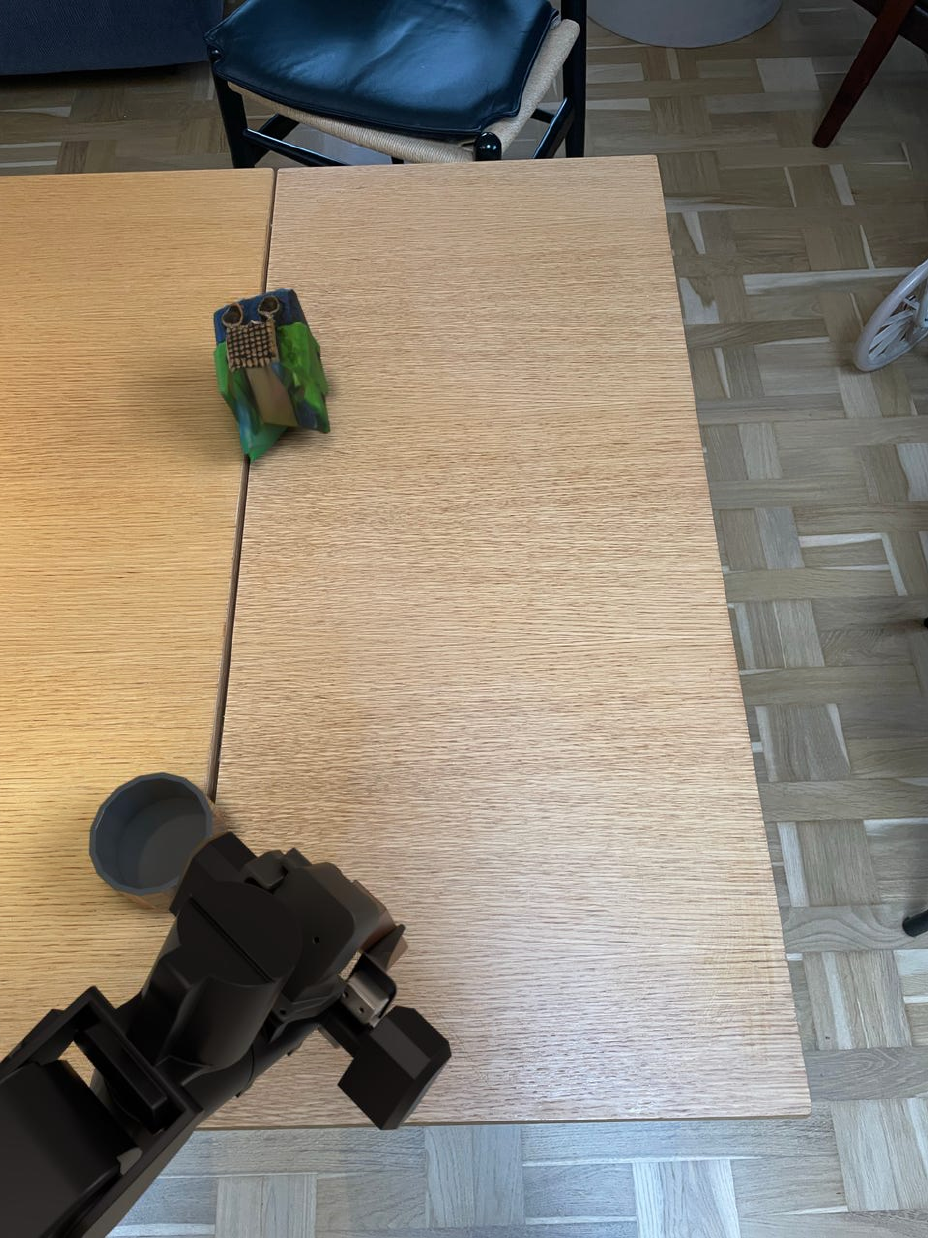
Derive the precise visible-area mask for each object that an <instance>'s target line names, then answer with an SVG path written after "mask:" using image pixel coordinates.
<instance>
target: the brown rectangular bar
mask: <svg viewBox="0 0 928 1238" xmlns="http://www.w3.org/2000/svg"><path fill="white" fill-rule="evenodd" d="M351 882H352V883H353V884H354V885H355V886H356V887H357V888H358V889H359V890H360V891H362V892H363V893H364V894H365V895H367V896H369V897H370V898H371V899H372V900H373V901H374V902H375V903H376V905H377V907H378V909H379V914H380V917H379V922H378V925H377V927H376V928H375V930H374V931H373V932H372V933H371V934H370V935H369V937H368V938H367V939H366V940H365V942H364V943H363V944H362V946H361V947H360V949H359V950H358V951H357V953H359V954H360V955H361V954H362V953H363V952H365V953H366V954H368V952H369V951H370V950H371V949H372V948H373V947H374V946H375V945H376V944H377V943H378V942H379V941H380V940H381V939H382V938H383V937H384V936H385V935H386V934H387V933H389V932H390V931H391V930H393V929H395V928H396V927H397V926H398V925H397V923H396V922H395V920H394V919H393V916H392V915H391V913H390V911H389V909H388V908H387V907H386V906H385V905H384V904H383V903H382V902H381V901H380V900H379V899H378V898H377V897H376V896H375V895H374V894H373V893H372V892H371V891H369V890H368V889H367V888H366V886H364V885H363V884H362V883H361V882H359V881H358V879H354V880H353V881H351ZM409 947H410V946H409V944H408V943H407V941H406V940H405V937H404V935H402V937H401V939H400V941H399V943H398V945H397V947H396V948H395V950H394V952H393V954H392V956H391V959H390V961H389V964H388V968H387V972H386V973H387V974H388V972H389V971H390V970H391V968H392V967H393V966H394V965H395V964H396V963H397V961H398V960H399V959H400V958H401V957H402V956H403V954H404V953H405V952H406V951H407V950H408V949H409Z"/></svg>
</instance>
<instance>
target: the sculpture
mask: <svg viewBox="0 0 928 1238" xmlns="http://www.w3.org/2000/svg"><path fill="white" fill-rule="evenodd" d="M212 315H213V320H212V321H213V329H214V337H215V349H214V350H213V359H214V368H215V375H216V380H217V389H218V393H219V394H220V396H222V398H223V400H224V401H225V402H226V404H227V406H228V407H229V409H230V411H231V412H232V415H233V417H234V419H235V421H236V427H237V429H238V434H239V435H238V436H239V442H240V446H241V450H242V452H243V453H244V455H245V456H246V455H247V456H248V457H249V459H250V461H251V464H253V463H254V462H255V460H257V459H258V458H259V457H260V456H261V455H263V454H264V453H265V452H267V451H268V450H269V449H270V448H271V447H272V446H274V444H275V443H276V442H277V440H279V438H281V436H282V435H283V433H284V432H285V431H286V430H287V429H288V427H292V428H296V429H302V430H303V429H304V430H309V431H315V432H319V433H322V434H324V435H327V434H329V433H330V432H331V422H330V419H329V410H328V407H327V402H326V401H327V400H326V396H327V393H329V386H328V382H327V378H326V375H325V370H324V365H323V363H322V359H321V345H320V344H319V342H318V340H317V339H316V338H315V337H314V334H313V333H312V330H311V328H310V325H309V323H308V320H307V318H306V314H305V313H304V310H303V308H302V306H301V303H300V300H299V298H298V294H297V293H296V291H295V290H294V289H293V288H289V289H286V288H283V287H281V288H278V289H276V290H271V291H268V292H264V293H261V294H259V295H255V296H252V297H250V298H245V297H243V298H242V299H240V300H238V301H233V302H232V303H230V304H226V305H224V306H223V307H221V308H219V309H217V310H215V312H213V314H212Z"/></svg>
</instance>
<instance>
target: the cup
mask: <svg viewBox="0 0 928 1238" xmlns="http://www.w3.org/2000/svg"><path fill="white" fill-rule="evenodd" d="M226 831H230V830H229V826H228V824H227V821H226V819H225V817H224V816H223V814H222V813H221V810H220V809H219V807H218V806H217V805H216V804H215V803H214V802H213V801H212V799H210V798H209V796H207V794H206V793H205V792H204V791H203V790H202V789H200V787H198V786H197V785H196V784H195V783H193V782H191V780H190V779H188V778H187V777H186V776H181V775H177V774H175V773H169V772H165V771H161V772H153V773H147V774H140V775H138V776H136V777H134V778H132V779H130V780H129V781H126V782H124V783H123V784H121V785H119V786H118V787H116V788H115V789H114V790H113V791H112V792H111V794H109V796H107V798H105V800H104V801H103V802H102V803H101V804H100V805H99V807H98V810H97V812H96V813H95V817H94V818H93V821H92V823H91V826H90V828H89V839H88V841H89V842H88V855H89V858H90V860H91V862H92V865H93V867H94V870H95V872H96V875H97V876H98V877H99V878H100V879H101V880H103V882H105V883H106V884H107V885H108V886H109V887H110V888H112V889H113V890H114V891H116V892H118V893H119V894H120V895H123V896H124V897H126V898H127V899H129V900H131V901H133V902H134V903H136V904H138V905H141V906H143V907H147V908H149V909H150V908H151V909H155V910H169V905H170V899H171V896H172V894H173V891H174V889H175V887H176V885H177V883H178V881H179V878H180V876H181V874H182V872H183V870H184V868H185V865H186V863H187V861H188V859H189V857H190V854H191V852H192V851H193V850H194V849H195V848H196V847H197V846H198V845H199V844H200V843H201V842H202V841H203V840H205V839H208V838H210V837H212V836H214V835H216V834H218V833H220V832H226Z"/></svg>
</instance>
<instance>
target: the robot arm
mask: <svg viewBox="0 0 928 1238" xmlns="http://www.w3.org/2000/svg"><path fill="white" fill-rule="evenodd" d="M352 882H353V881H351V880H350V879H349V878H347V876H345V874H344V873H343V872H342V869H340V868H339V866H337V865H335V864H334V863H332V862H330V861H322V862H317V863H312V862H311V861H310V860H309V859H308V858H307V857H306V856H304V855H303V854H302V852H301V851H299V850H298V849H297V848H296V847H292V848H290V849H289V850H288V851H286V853H284V852H283V851H282V850H281V849H272V850H268V851H265V852H264V853H262V854H260V855H259V856H258V855H256V853H254V852H253V851H252V850H251V849H250V848H249V847H248V846H247V845H246V844H245V843H244V842H243V841H242V840H241V839H240V838H239V837H238V836H237V835H236V834H235V833H233V831H231V830H229V831H226V832H220V833H218V834H216V835H214V836H212V837H210V838H208V839H205V840H203V841H202V842H201V843H200V844H199V845H198V846H197V847H196V848H195V849H194V850H193V851H192V852H191V854H190V857H189V859H188V861H187V863H186V865H185V868H184V870H183V872H182V874H181V876H180V878H179V881H178V883H177V885H176V887H175V889H174V891H173V894H172V896H171V899H170V905H169V909H168V911H169V912H170V913H171V914H172V916H174V917H175V919H174V921H173V923H172V925H171V927H170V929H169V931H168V933H167V936H166V938H165V940H164V941H163V944H162V946H161V948H160V950H159V952H158V953H157V956H156V958H155V960H154V962H153V964H152V967H151V969H150V971H149V973H148V975H147V977H146V979H145V981H144V984H143V986H142V987H141V988H140V990H139V991H138V993H137V994H135V995H134V996H133V997H132V998H130V999H128V1000H127V1001H125V1002H123V1003H122V1004H120V1005H119V1006H117V1007H115V1006H114V1005H113V1004H112V1003H111V1002H110V1000H108V998H107V997H106V996H105V995H104V994H103V993H102V992H101V990H100V989H99V988H98V987H97V986H96V985H92V986H89V987H88V988H86V990H84V991H83V992H82V993H81V994H80V995H79V996H78V997H77V998H76V999H74V1000H73V1002H72V1003H70V1004H69V1005H68V1006H66V1008H65V1009H59V1008H51V1009H50V1010H49V1011H48V1012H47V1013H46V1014H45V1016H43V1017H42V1018H41V1020H40V1021H38V1023H36V1024H35V1026H34V1027H32V1029H30V1031H29V1032H27V1034H26V1035H25V1036H24V1037H23V1038H22V1039H21V1040H20V1041H19V1042H18V1043H17V1044H16V1045H15V1046H14V1047H13V1048H12V1049H11V1051H10V1052H9V1053H7V1054H6V1056H5V1057H4V1058H3V1059H2V1060H1V1061H0V1238H106V1237H107V1236H108V1235H109V1234H110V1233H111V1232H112V1231H113V1230H114V1229H115V1228H116V1227H117V1226H118V1225H119V1224H120V1223H121V1221H122V1220H123V1219H124V1218H125V1217H126V1215H127V1214H129V1212H130V1210H131V1209H132V1208H133V1207H134V1206H135V1205H136V1204H137V1202H138V1201H139V1200H140V1199H141V1198H142V1196H143V1195H144V1194H145V1192H147V1190H149V1188H150V1187H151V1186H152V1184H153V1183H154V1182H155V1180H156V1179H157V1178H158V1177H159V1176H160V1175H161V1173H162V1172H163V1171H164V1170H165V1169H166V1167H167V1166H168V1165H169V1164H170V1162H171V1161H172V1160H173V1159H174V1158H175V1156H177V1154H179V1152H180V1150H181V1149H182V1148H183V1147H184V1146H185V1144H186V1143H187V1142H188V1141H189V1140H190V1139H191V1137H192V1136H193V1134H194V1132H195V1130H196V1128H197V1127H198V1126H200V1125H201V1124H202V1123H203V1122H204V1121H206V1120H207V1119H208V1118H209V1117H210V1116H212V1115H213V1114H214V1113H216V1112H217V1111H218V1110H220V1108H222V1107H223V1106H225V1104H226V1103H228V1102H229V1101H230V1100H232V1099H233V1098H234V1097H236V1099H239V1098H240V1097H241V1096H242V1095H244V1094H245V1093H246V1092H247V1091H248V1090H251V1088H252V1086H253V1084H254V1083H255V1081H256V1079H257V1078H259V1077H260V1076H261V1075H262V1074H265V1072H266V1071H267V1070H268V1069H270V1068H271V1067H273V1065H275V1064H276V1063H277V1062H278V1061H280V1060H281V1059H282V1058H283V1057H285V1056H286V1055H287V1056H288V1057H290V1056H292V1055H293V1054H294V1053H295V1052H297V1050H299V1049H300V1048H301V1047H302V1045H303V1043H304V1041H305V1040H306V1039H307V1038H308V1037H309V1036H310V1035H312V1034H313V1033H314V1032H316V1031H317V1032H318V1033H320V1035H321V1036H322V1037H323V1038H324V1039H325V1040H326V1041H327V1042H328V1043H329V1044H330V1045H331V1046H332V1047H333V1048H334V1049H336V1050H338V1049H341V1048H342V1049H344V1051H345V1052H346V1053H347V1054H348V1055H349V1056H350V1057H351V1058H352V1060H351V1061H350V1063H349V1064H348V1066H347V1068H346V1069H345V1071H344V1072H343V1074H342V1075H341V1077H340V1079H339V1080H338V1082H337V1084H336V1086H337V1087H338V1088H339V1089H340V1090H341V1091H342V1092H343V1093H344V1094H345V1096H346V1097H348V1098H349V1099H350V1101H352V1103H353V1104H354V1105H356V1107H357V1108H358V1109H359V1110H360V1111H361V1112H362V1113H363V1115H365V1116H366V1117H367V1118H368V1119H369V1120H370V1121H371V1123H373V1124H374V1125H375V1126H376V1127H377V1129H378V1130H379V1131H394V1130H398V1129H399V1128H401V1126H402V1125H403V1124H404V1123H405V1122H406V1121H407V1120H408V1119H409V1118H410V1116H411V1115H412V1114H413V1113H415V1110H416V1109H417V1108H418V1106H419V1105H420V1103H421V1102H422V1100H423V1099H424V1097H425V1096H426V1094H427V1093H428V1092H429V1090H430V1089H431V1087H432V1086H433V1084H434V1083H435V1081H436V1080H437V1079H438V1077H439V1075H440V1074H441V1072H443V1070H444V1068H445V1067H446V1065H447V1064H448V1062H449V1061H450V1060H451V1058H452V1057H453V1053H452V1049H451V1045H450V1041H449V1040H448V1039H447V1038H446V1037H445V1036H443V1034H441V1033H440V1031H438V1029H436V1027H434V1026H433V1025H432V1024H431V1023H430V1022H429V1021H428V1020H427V1019H426V1018H425V1017H424V1016H423V1015H422V1014H421V1013H420V1011H418V1010H417V1009H416V1008H414V1007H408V1006H404V1005H398V1004H396V1005H395V1006H393V1007H392V1008H391V1006H392V1004H393V1003H394V1002H395V1000H396V998H397V996H398V992H399V987H398V984H397V982H396V981H395V980H394V979H393V978H392V976H390V975H389V974H388V972H387V968H388V964H389V961H390V959H391V956H392V954H393V952H394V950H395V948H396V947H397V945H398V943H399V941H400V939H401V937H402V936H404V933H405V931H406V929H407V926H405V924H404V923H400V924H398V925H397V927H396V928H395V929H393V930H391V931H390V932H389V933H387V934H386V935H385V936H384V937H383V938H382V939H381V940H380V941H379V942H378V943H377V944H376V945H375V946H374V947H373V948H372V949H371V950H370V951H369V952H368V954H366V953H365V952H363V953H362V954H360V956H359V958H358V959H357V961H356V962H355V964H354V966H353V968H351V971H350V973H349V974H348V976H347V978H346V979H344V978H343V977H342V976H341V975H340V974H341V973H343V972H344V970H345V969H346V968H347V966H348V965H349V964H350V963H351V961H352V959H353V958H354V957H355V956H356V954H357V953H358V950H359V949H360V947H361V946H362V944H363V943H364V942H365V940H366V939H367V938H368V937H369V935H370V934H371V933H372V932H373V931H374V930H375V928H376V927H377V925H378V922H379V917H380V914H379V909H378V907H377V905H376V903H375V902H374V901H373V900H372V899H371V898H370V897H369V896H367V895H365V894H364V893H363V892H362V891H360V890H359V889H358V888H357V887H356V886H355V885H354V884H353V883H352ZM386 972H387V973H386ZM390 1008H391V1009H390ZM389 1009H390V1010H389ZM73 1043H74V1045H75V1046H76V1047H77V1048H78V1049H79V1050H80V1052H81V1053H82V1054H83V1055H84V1057H86V1059H87V1060H88V1061H89V1062H90V1064H91V1065H92V1066H93V1067H94V1069H93V1073H92V1075H91V1078H90V1081H89V1085H88V1084H87V1083H86V1081H85V1080H84V1079H83V1078H82V1077H81V1075H79V1073H78V1071H76V1070H75V1067H73V1066H72V1065H71V1063H70V1062H69V1061H68V1059H59V1058H61V1056H62V1055H63V1054H64V1053H65V1052H66V1051H67V1049H68V1048H69V1047H70V1046H71V1044H73Z"/></svg>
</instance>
